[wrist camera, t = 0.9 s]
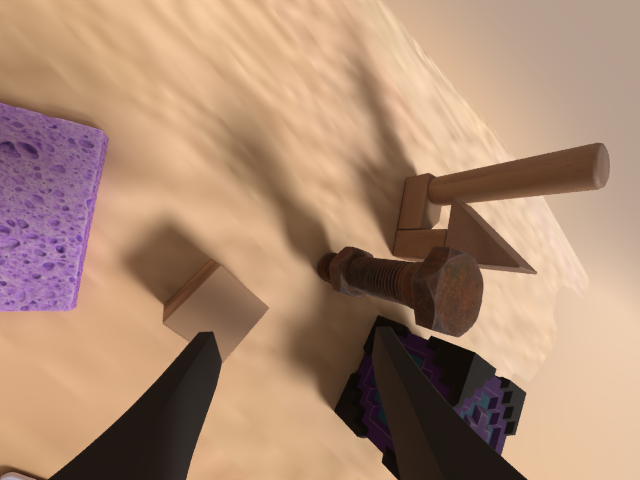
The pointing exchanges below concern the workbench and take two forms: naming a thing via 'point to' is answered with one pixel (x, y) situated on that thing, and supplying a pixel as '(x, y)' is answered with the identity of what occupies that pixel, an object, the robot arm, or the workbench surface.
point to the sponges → (45, 207)
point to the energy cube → (450, 381)
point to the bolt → (413, 284)
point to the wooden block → (487, 185)
